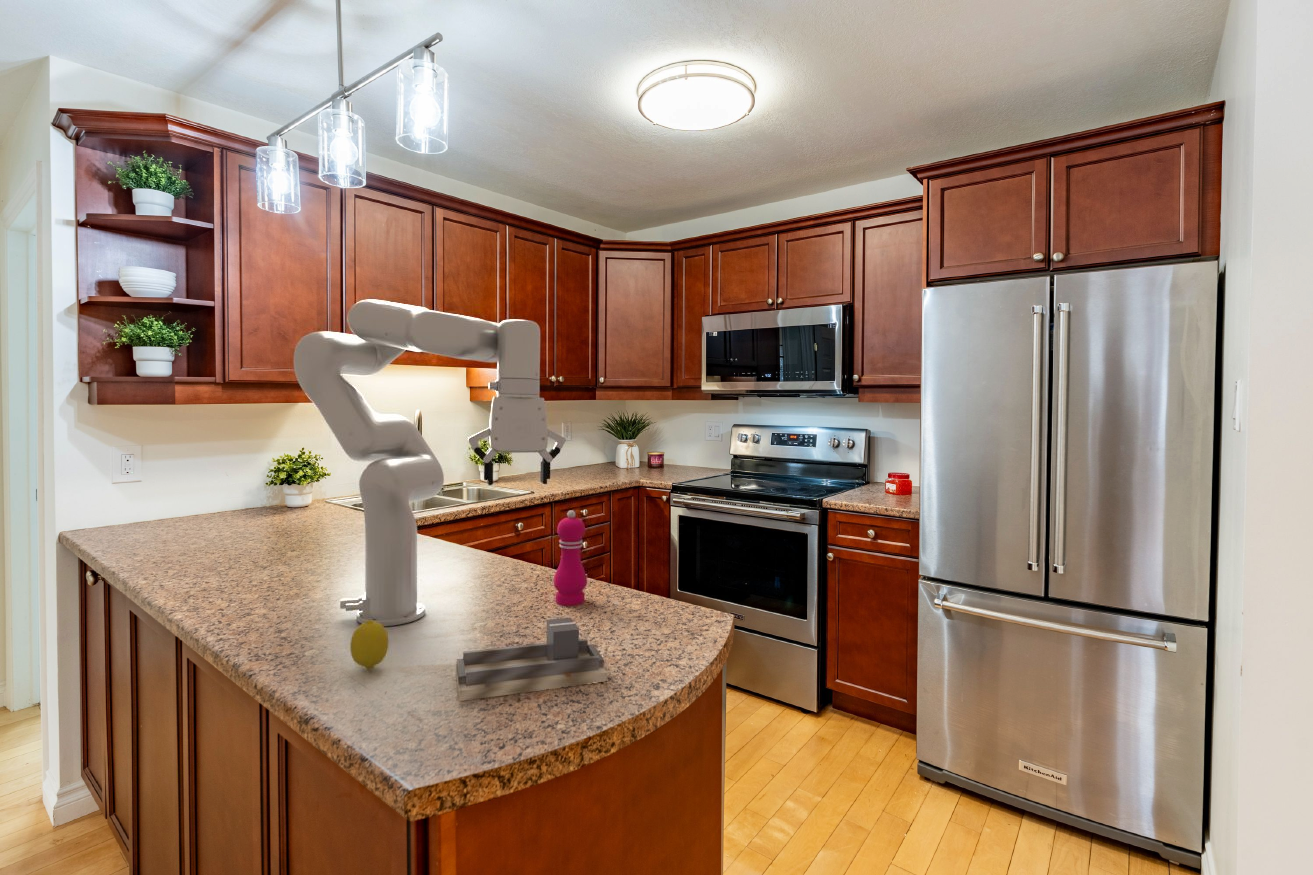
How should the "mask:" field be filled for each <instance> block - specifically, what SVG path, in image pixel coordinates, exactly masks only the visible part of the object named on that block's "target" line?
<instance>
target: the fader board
mask: <svg viewBox="0 0 1313 875" xmlns="http://www.w3.org/2000/svg"><path fill="white" fill-rule="evenodd" d="M546 643H547V642H541V643H532V644H523V645H521V644H520V645H512V646H502V647H493V648H487V649H486V648H485V649H484V648H483V649H476V650H473V649H472V650H465V651H462V658H457V659H456V661H455V671H456V672H455V673H456V680H457V681H456V684H457V691H458V692H457V693H458V700H459V702H462V701H463V702H464V701H471V700H479V699H484V698H493V697H500V696H501V697H502V696H507V695H509V696H510V695H516V694H524V693H531V692H539V691H547V690H546V689H549V690H555V689H561V687H564V688H569V687H568V686H572V687H576V686H575V685H579V686H583V685H582V684H587V685H589V684H588V683H593V682H601V681H606V680H607V681H608V671H607V669H606V668H605V659H604V657H603V656H602V654H601V653H600V652H599V650H598V649H597V648H596V646H595V644H588V643H589V640H588V638H581V639H580V638H579V653H578V658H572V659H563V660H554V661H548V659H547V656H546Z"/></svg>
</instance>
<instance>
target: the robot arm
mask: <svg viewBox="0 0 1313 875" xmlns="http://www.w3.org/2000/svg"><path fill="white" fill-rule="evenodd" d="M346 320H347V321H346V322H347V324H348V327H349V330H350V331H351V332H352V333H353V334H351V333H350V334H349V333H343V332H336V331H335V332H334V331H315V332H310V333H308V334H306V335H304V336H302V337H301V338H300V339H299V341H297V344H296V346H295V348H294V354H293V369H294V374H295V377H296V380H297V382H298V384H299V386H300V388H301V389H302V392H304V393H305V395H306V396H307V398H308V399H309V400H310V401H311V402H312V403H313V405H314V406H315V408H316V409H317V410H318V411H319V413H320V414H321V416H322V417H323V420H324V421H325V423H326V424H327V426H328V428H329V429H330V431H331V432H332V434H333V435H334V437H335V439H336V440H337V442H338V444H339V445H340V446H341V448H342V450H343V451H344V453H345V454H346V455H347V456H348V457H349V458H350V459H351V460H353V461H357V462H365V463H366V462H370V463H369V464H367V466H365V468H363V470H362V471H361V474H360V476H359V481H358V482H359V483H358V486H359V494H360V498H361V501H362V502H361V503H362V507H363V515H364V516H363V517H364V541H365V542H364V547H365V548H364V557H365V558H364V560H365V562H364V566H365V568H364V569H365V571H364V576H365V578H364V580H365V581H364V582H365V584H364V585H365V586H364V587H365V588H364V589H365V590H364V594H363V595H359V596H358V598H340V602H339V604H340V605H339V609H340V610H345V612H350V611H357V610H358V611H357V613H356V621H357V622H358V623H360V625H361V624H363V623H365V622H367V620H372V621H374V622H377V623H379V624H381V625H382V626H383V627H390V626H397V625H404V624H409V623H411V622H414V621H417V620H418V619H421V618H422V617H424V615H425V614H426V607H425V605H424V604H422V603H421V602H420V603H419V602H418V526H417V524H418V523H417V521H416V520H417V519H416V518H415V517H416V516H415V515H414V512H413V511H412V509H411V506H410V504H411V503H417V502H421V501H426V500H429V499H432V498H434V497H435V496H437V495H438V494H439V493H440V492H441V490H442V489H443V486H444V483H445V482H444V481H445V478H444V476H445V474H444V471H443V467H442V466H441V464H440V461H439V460H438V458H437V456H436V455H435V454H434V452H433V451H432V449H431V448H430V446H429V444H428V443H427V441H426V440H425V438H424V437H423V436H422V434H421V432H420V431H419V430H418V428H417V427H416V425H415V424H414V423H413V422H412V421H410V420H409V419H408V418H406V417H404V416H403V415H400V414H392V413H391V414H390V413H389V414H387V413H385V414H383V413H381V414H380V413H378V412H376V411H374V410H373V408H372V407H371V406H370V405H369V404H368V402H367V401H366V399H365V397H364V396H363V394H362V393H361V392H360V391H359V389H358V388H357V387H355V386H354V385H353V384H352V383H351V382H349V381H348V380H347V379H345V378H344V376H354V377H370V376H373V375H375V374H377V373H379V372H381V371H382V370H384V369H385V368H386V367H387V366H388V365H390V364H391V363H393V361H394V360H395V359H397V358H398V357H400V356H401V355H402V354H404V352H406V350H407V351H412V352H416V353H421V352H422V353H426V354H427V353H428V354H434V355H439V356H443V357H448V358H453V359H459V360H467V361H468V360H469V361H475V362H476V361H477V362H483V363H497V364H496V365H497V366H496V378H497V379H496V380H495V381H489V382H488V390H492V391H494V392H496V396H493V397H492V401H491V407H490V414H489V423H488V424H489V425H488V427H487V428H485V429H483V430H481V431H479V432H477V433H475V434H473V435H471V436H469V437H468V438H467V441H468V444H470V447H471V448H472V451H473V452H474V453H475V455H476V456H478V457H479V458H480V459H481V461H483V480H484V481H487V485H488V486H493V485H494V463H493V462H492V460H493V459H494V457H495V456H496V455H497V454H498V453H505V454H506V453H514V454H515V453H516V454H517V453H518V454H519V453H521V454H522V453H527V454H528V453H538V454H539V455H540V456H541V458H542V460H541V461H540V482H541V483H542V484H543V485H547V484H548V480H551V463H552V461H553V460H554V459H555V458H556V457H557V456H558V455H560V453H561V450H562V449H563V447H564V445H565V443H566V438H565V437H564V436H562V435H560V434H558V433H556V432H555V431H553V430H550V429H548V419H547V407H546V402H545V398H544V397H540V375H541V374H540V373H541V371H540V370H541V367H540V364H541V329H540V326H539V324H538V323H537V322H536V321H533V320H527V319H519V318H518V319H515V318H514V319H505V320H501V322H499V323H498V322H494V321H490V320H485V319H481V318H478V317H472V316H466V315H462V314H461V315H460V314H454V313H449V312H443V311H437V310H430V309H429V308H427V307H423V306H417V305H411V304H404V303H398V302H394V301H393V302H391V301H388V300H380V299H370V298H369V299H362V300H360V301H358V302H356V303H355V304H353V305H352V306H351V308H350V309H349V311H348V313H347V318H346ZM485 438H488V446H489V448H488V449H487V451H486V452H484V450H483V449H481V447H480V444H479V442H480V441H481V440H483V439H485ZM548 438H549V439H550V440H554V441H555V444H554V446H553V447H552V449H550V450H549V451H548V450H547V449H548V444H549V443H548Z"/></svg>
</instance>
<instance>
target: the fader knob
mask: <svg viewBox="0 0 1313 875" xmlns="http://www.w3.org/2000/svg"><path fill="white" fill-rule="evenodd" d="M579 632H580V629H579V627H578V625H577V624H576V622H575V621H574V620H573V618H572V617H564V618H563V617H562V618H553V619H547V620H546V642H545V643H546V656H547V659H548V661H554V660H563V659H572V658H578V653H579V639H580V638H579V637H580V634H579Z"/></svg>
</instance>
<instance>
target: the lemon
mask: <svg viewBox="0 0 1313 875" xmlns="http://www.w3.org/2000/svg"><path fill="white" fill-rule="evenodd" d="M349 646H350V647H349V648H350V656H351V658H352V659H353V661H354V663H356V664H357V665H359V666H361V667H364V668H366V670H368V671H369V670H372V669H374V667H375V666H376V665H378V664H379V663H381V662H382V661H383V660H384V659H385V657H386V655H387V653H388V649H389V636H388V631H387V629H386V628H385V626H382V625H381V624H379V623H377V622H374V621H372V620H367V622H365V623H363V624H361V623H360V625H359V626H358V627H356V628H355V630H354V631H353V633H352V637H351V640H350V645H349Z"/></svg>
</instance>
